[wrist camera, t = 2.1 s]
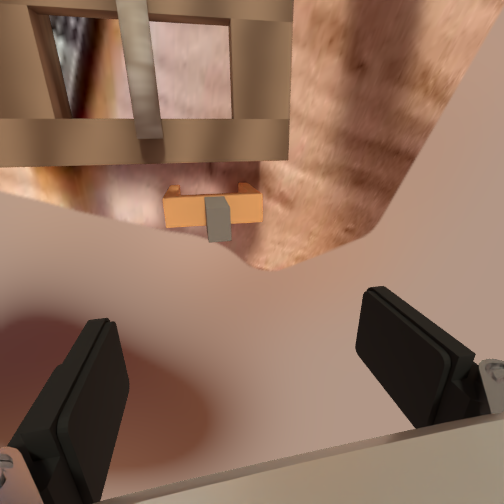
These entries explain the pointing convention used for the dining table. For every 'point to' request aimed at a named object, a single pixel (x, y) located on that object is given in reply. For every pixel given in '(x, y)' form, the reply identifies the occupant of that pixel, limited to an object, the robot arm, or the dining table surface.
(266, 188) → the dining table surface
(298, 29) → the dining table surface
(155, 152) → the tan open frame
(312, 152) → the dining table surface
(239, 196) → the orange u-shaped bracket
